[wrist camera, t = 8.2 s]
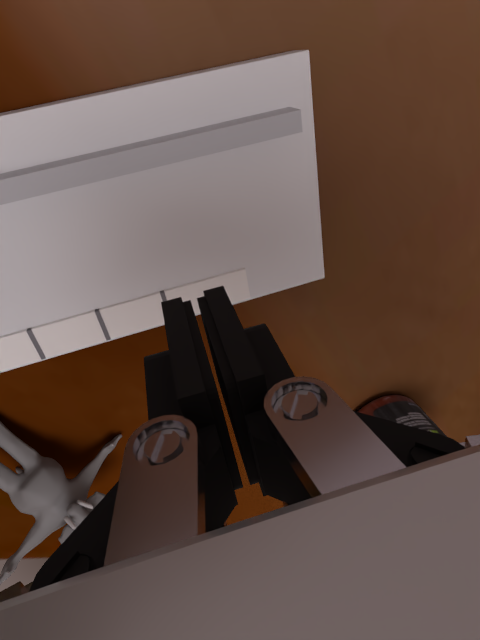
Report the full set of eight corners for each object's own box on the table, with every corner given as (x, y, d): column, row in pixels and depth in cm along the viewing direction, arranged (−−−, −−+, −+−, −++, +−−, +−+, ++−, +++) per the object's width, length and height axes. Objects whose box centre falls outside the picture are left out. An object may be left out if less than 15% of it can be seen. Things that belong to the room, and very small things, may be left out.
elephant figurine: (48, 356, 22) (164, 459, 24) (34, 372, 27) (133, 457, 29) (-125, 519, 17) (37, 633, 19) (-107, 505, 22) (23, 598, 24)
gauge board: (294, 50, 18) (377, 48, 13) (312, 266, 24) (376, 328, 18) (-371, 192, 15) (-639, 271, 9) (-170, 405, 20) (-267, 531, 15)
